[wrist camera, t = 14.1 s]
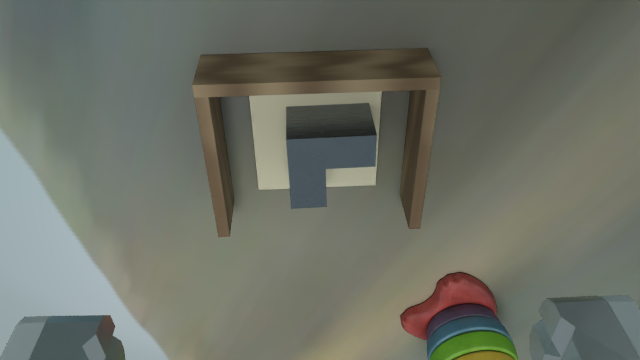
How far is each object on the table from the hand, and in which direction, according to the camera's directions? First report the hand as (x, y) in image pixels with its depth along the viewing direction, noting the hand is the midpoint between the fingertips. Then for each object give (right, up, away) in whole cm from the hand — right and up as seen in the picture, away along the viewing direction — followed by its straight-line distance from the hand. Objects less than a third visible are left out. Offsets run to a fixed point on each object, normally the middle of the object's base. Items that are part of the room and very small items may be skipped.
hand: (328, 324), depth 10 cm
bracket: (+1, +6, +37) cm, 38 cm away
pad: (0, +7, +37) cm, 38 cm away
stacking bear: (+16, -12, +53) cm, 57 cm away
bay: (0, +7, +37) cm, 38 cm away
